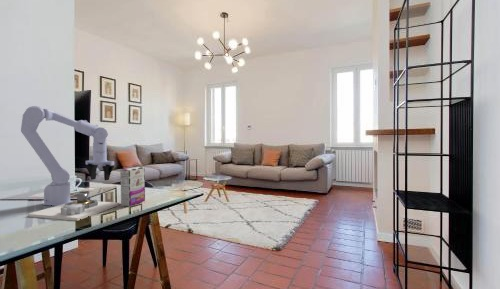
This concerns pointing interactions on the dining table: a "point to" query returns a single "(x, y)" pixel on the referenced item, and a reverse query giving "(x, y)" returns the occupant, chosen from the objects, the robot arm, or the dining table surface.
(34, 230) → the dining table surface
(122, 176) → the candy bar box
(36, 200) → the dining table surface
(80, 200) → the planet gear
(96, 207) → the carrier plate
